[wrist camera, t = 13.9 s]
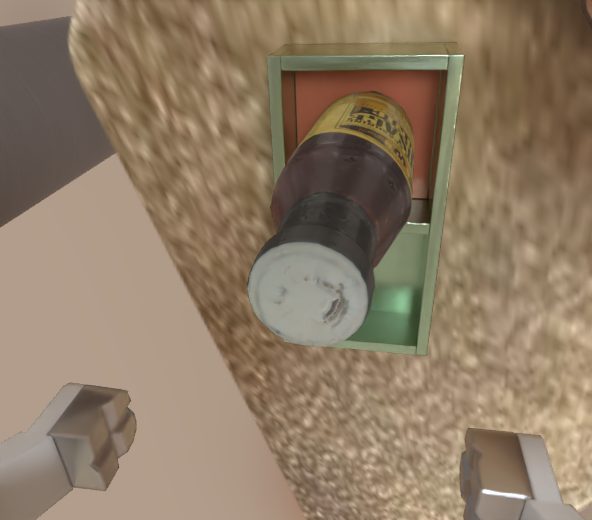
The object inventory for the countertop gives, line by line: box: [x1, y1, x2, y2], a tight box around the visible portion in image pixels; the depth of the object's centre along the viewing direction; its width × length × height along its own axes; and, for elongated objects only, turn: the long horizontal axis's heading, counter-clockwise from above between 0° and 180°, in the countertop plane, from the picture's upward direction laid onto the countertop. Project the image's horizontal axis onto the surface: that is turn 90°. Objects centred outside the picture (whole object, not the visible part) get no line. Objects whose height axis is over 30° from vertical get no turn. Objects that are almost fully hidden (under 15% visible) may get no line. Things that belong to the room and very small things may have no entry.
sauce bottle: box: [247, 91, 415, 347], centre depth 24 cm, size 7×6×20 cm
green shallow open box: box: [267, 42, 465, 356], centre depth 34 cm, size 11×20×5 cm, turn 2°
